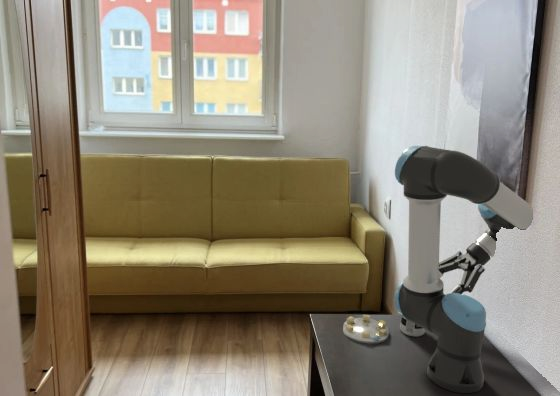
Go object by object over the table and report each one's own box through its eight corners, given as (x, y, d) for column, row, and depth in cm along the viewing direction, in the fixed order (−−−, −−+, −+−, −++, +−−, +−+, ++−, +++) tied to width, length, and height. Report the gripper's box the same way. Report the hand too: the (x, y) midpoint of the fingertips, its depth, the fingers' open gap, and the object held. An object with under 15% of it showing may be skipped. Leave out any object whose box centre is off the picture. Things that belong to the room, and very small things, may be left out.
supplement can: (398, 324, 168) (402, 284, 165) (422, 327, 167) (427, 286, 164) (400, 335, 161) (405, 293, 157) (426, 338, 159) (431, 296, 156)
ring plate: (396, 332, 163) (397, 324, 162) (374, 349, 151) (375, 340, 151) (358, 317, 172) (358, 309, 171) (334, 332, 161) (334, 323, 160)
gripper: (511, 271, 151) (461, 317, 152) (468, 245, 175) (425, 285, 176) (498, 255, 149) (447, 301, 150) (457, 231, 173) (413, 272, 174)
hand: (435, 293), depth 163 cm, fingers open, 13 cm apart
